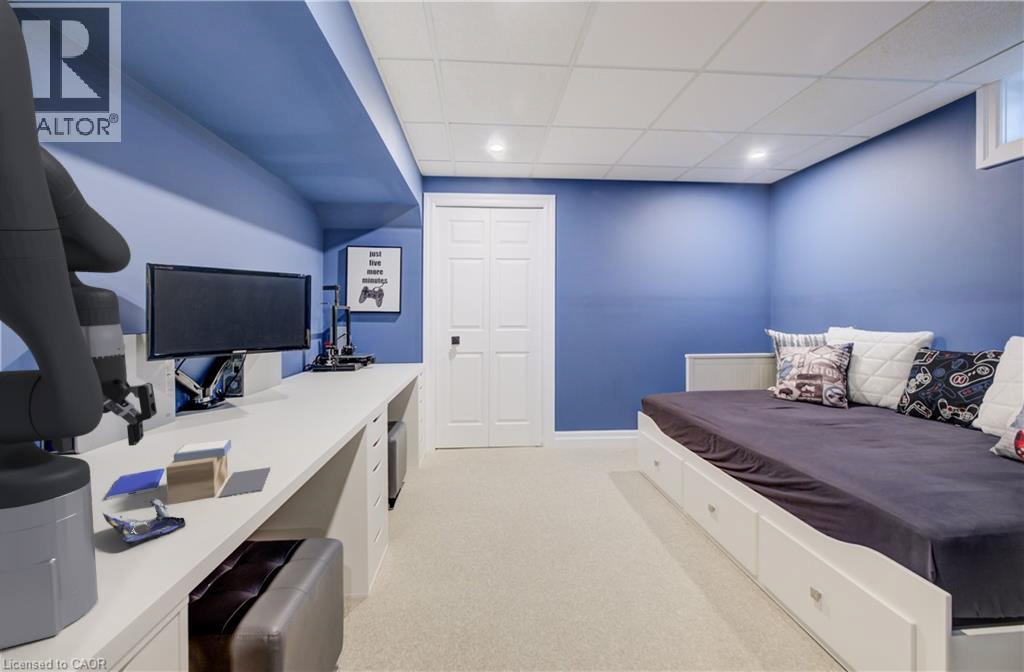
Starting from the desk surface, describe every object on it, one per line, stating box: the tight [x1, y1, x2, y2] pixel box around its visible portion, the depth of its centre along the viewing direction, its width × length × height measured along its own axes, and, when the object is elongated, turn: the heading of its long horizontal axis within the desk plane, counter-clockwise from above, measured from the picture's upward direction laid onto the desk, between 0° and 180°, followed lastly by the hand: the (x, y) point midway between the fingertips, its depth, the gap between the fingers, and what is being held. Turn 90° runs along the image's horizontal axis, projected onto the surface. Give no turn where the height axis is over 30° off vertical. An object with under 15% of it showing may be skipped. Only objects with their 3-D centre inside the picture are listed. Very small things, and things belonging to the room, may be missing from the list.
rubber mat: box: [218, 467, 272, 499], centre depth 92 cm, size 14×8×1 cm, turn 26°
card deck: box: [173, 439, 232, 463], centre depth 88 cm, size 6×9×2 cm
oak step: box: [165, 453, 229, 505], centre depth 88 cm, size 12×8×8 cm, turn 26°
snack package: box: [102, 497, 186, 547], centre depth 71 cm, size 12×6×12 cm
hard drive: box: [105, 468, 166, 501], centre depth 90 cm, size 2×8×12 cm
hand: (100, 447), depth 64 cm, fingers open, 8 cm apart
